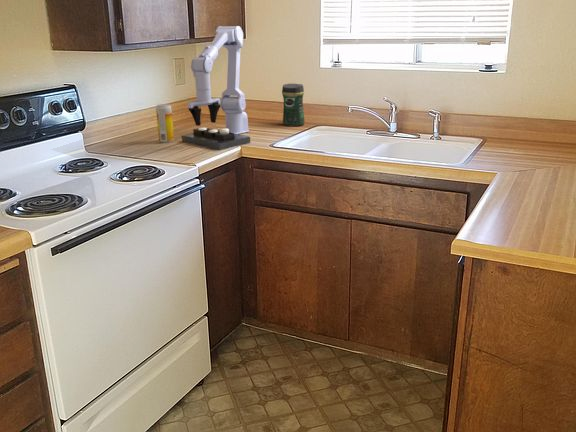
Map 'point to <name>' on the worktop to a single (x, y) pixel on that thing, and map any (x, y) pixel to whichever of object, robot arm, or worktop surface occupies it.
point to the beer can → (165, 123)
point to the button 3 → (224, 131)
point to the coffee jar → (293, 104)
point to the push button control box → (215, 139)
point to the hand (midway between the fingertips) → (205, 123)
